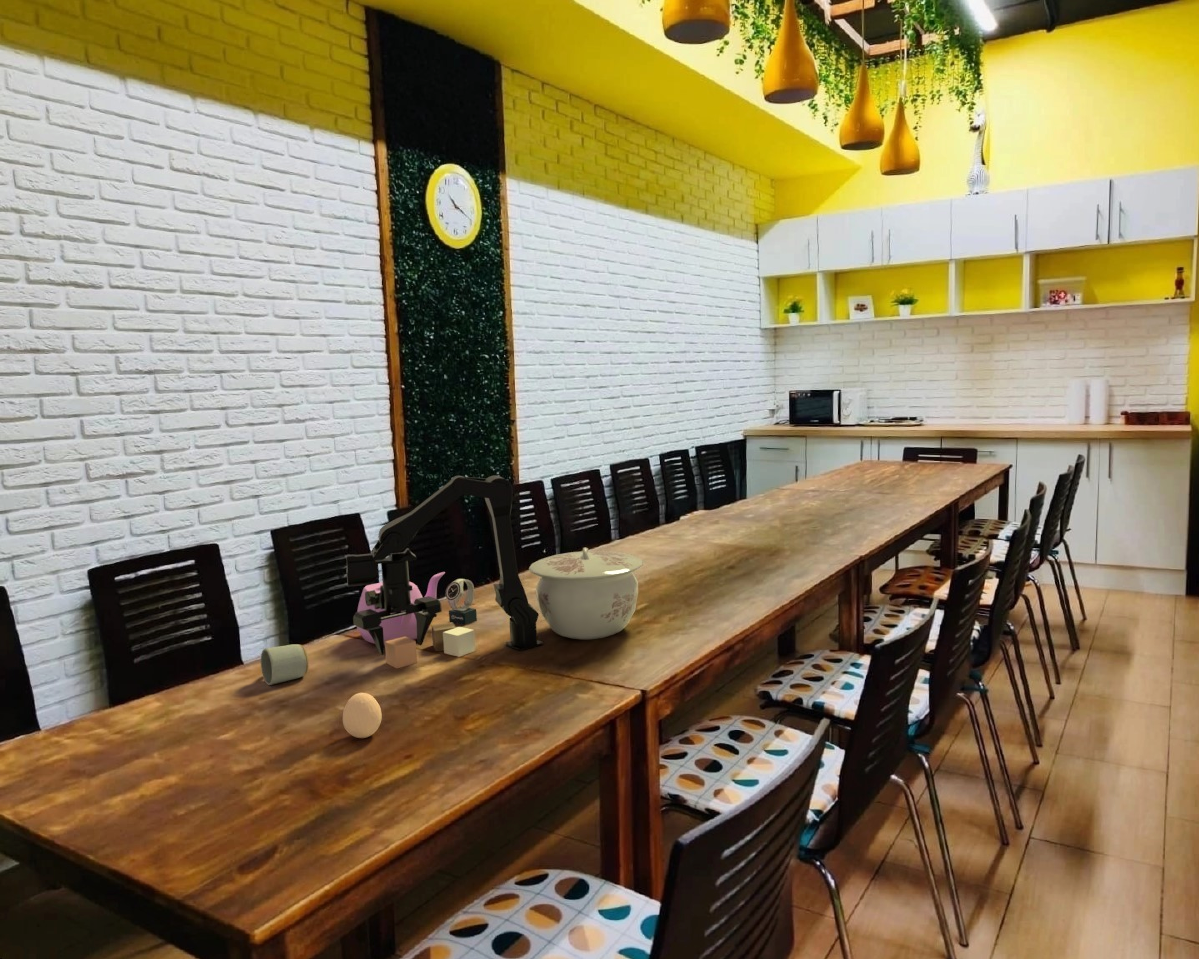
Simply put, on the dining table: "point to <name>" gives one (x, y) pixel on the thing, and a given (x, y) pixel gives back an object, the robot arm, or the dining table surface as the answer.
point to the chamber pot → (587, 592)
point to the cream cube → (459, 641)
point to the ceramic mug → (283, 663)
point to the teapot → (400, 624)
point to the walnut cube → (440, 634)
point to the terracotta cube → (400, 652)
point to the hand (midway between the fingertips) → (401, 649)
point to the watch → (464, 613)
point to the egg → (362, 715)
